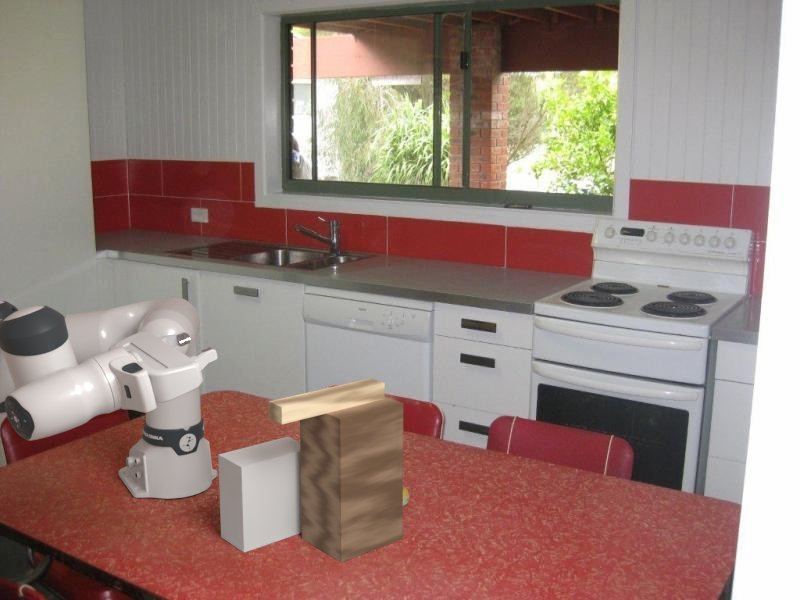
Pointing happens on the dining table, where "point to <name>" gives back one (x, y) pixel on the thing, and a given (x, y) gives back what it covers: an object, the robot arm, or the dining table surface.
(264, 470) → the grey step
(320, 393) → the oak slat
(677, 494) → the dining table surface
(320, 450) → the walnut block
